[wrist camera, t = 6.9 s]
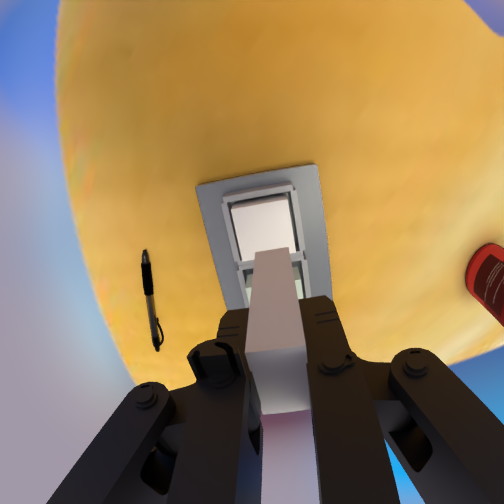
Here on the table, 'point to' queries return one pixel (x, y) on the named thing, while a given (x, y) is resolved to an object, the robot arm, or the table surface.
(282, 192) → the keypad
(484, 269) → the canned food
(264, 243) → the key ivory
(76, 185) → the table surface
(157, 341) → the pen
